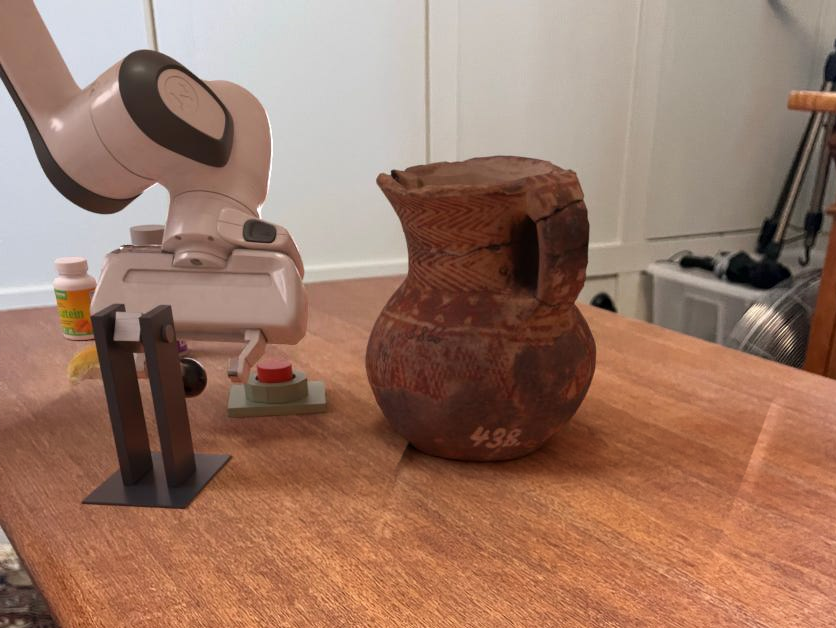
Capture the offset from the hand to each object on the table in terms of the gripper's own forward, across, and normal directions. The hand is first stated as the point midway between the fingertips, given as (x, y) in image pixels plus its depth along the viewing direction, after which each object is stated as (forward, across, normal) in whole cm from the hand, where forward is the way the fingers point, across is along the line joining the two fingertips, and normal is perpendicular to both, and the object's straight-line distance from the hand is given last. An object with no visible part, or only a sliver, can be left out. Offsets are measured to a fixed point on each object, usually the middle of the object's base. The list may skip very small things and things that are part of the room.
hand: (188, 378), depth 94 cm
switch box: (-4, +4, +14) cm, 15 cm away
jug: (0, +26, +11) cm, 29 cm away
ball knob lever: (+3, 0, -5) cm, 6 cm away
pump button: (-6, +4, +12) cm, 14 cm away
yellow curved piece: (-10, -19, +21) cm, 31 cm away
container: (-18, -16, +29) cm, 38 cm away
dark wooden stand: (+12, 0, -1) cm, 12 cm away
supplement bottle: (-24, -31, +34) cm, 52 cm away
